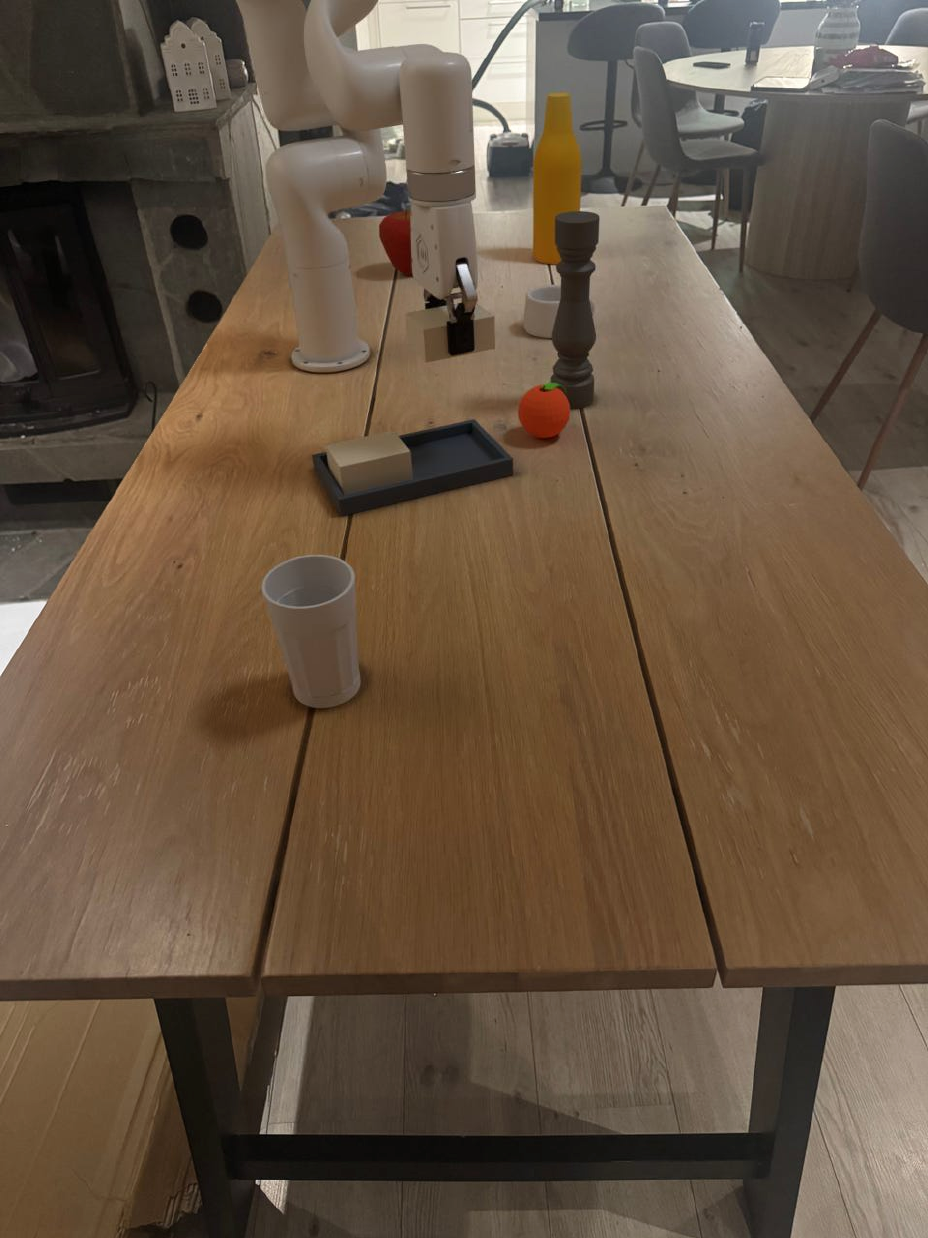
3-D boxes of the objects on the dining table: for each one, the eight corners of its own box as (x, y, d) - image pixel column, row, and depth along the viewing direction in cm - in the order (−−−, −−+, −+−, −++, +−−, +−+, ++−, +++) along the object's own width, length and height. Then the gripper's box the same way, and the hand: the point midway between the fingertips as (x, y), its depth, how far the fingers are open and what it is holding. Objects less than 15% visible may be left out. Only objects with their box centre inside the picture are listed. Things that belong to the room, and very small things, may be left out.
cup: (287, 661, 90) (265, 558, 82) (369, 654, 90) (355, 550, 83) (281, 718, 83) (257, 612, 76) (369, 710, 84) (354, 604, 76)
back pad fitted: (329, 473, 118) (325, 444, 115) (396, 458, 120) (393, 429, 118) (343, 496, 113) (339, 467, 110) (413, 479, 115) (410, 451, 113)
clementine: (546, 416, 130) (547, 367, 125) (585, 431, 125) (587, 381, 121) (507, 436, 125) (506, 386, 121) (546, 452, 121) (546, 401, 117)
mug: (526, 341, 152) (526, 304, 148) (520, 320, 160) (520, 285, 156) (598, 336, 152) (600, 300, 148) (589, 316, 160) (591, 280, 156)
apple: (406, 261, 189) (401, 198, 182) (448, 268, 184) (445, 204, 176) (371, 276, 182) (364, 211, 175) (414, 285, 177) (409, 218, 170)
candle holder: (591, 410, 130) (599, 223, 115) (547, 408, 132) (549, 223, 116) (595, 391, 135) (603, 210, 120) (553, 389, 136) (556, 210, 121)
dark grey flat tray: (314, 470, 120) (311, 454, 119) (474, 434, 126) (474, 418, 125) (341, 516, 111) (338, 499, 109) (513, 474, 117) (513, 458, 115)
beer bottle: (580, 264, 183) (586, 97, 165) (533, 265, 183) (534, 99, 165) (576, 250, 190) (581, 88, 172) (531, 251, 190) (532, 91, 172)
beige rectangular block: (407, 345, 114) (404, 312, 112) (474, 331, 117) (473, 300, 114) (425, 362, 110) (423, 329, 107) (495, 348, 112) (494, 316, 110)
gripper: (384, 173, 107) (398, 326, 118) (438, 206, 94) (447, 373, 105) (444, 165, 109) (452, 315, 120) (505, 196, 97) (507, 361, 107)
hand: (450, 341), depth 113 cm, fingers closed on beige rectangular block, 6 cm apart
